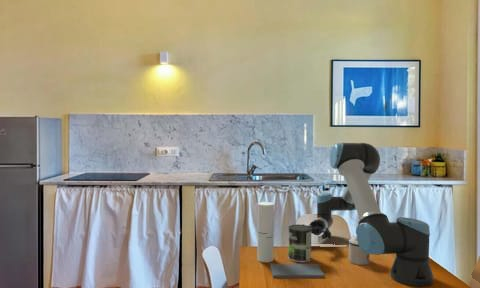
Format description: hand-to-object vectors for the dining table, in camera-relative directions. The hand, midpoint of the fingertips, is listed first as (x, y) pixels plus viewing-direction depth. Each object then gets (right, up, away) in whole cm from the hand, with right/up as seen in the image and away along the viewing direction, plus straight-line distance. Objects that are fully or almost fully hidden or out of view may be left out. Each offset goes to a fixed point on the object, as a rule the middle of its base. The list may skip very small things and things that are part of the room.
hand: (304, 236), depth 172 cm
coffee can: (-3, -8, -6) cm, 11 cm away
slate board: (-7, -9, -22) cm, 25 cm away
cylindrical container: (-19, -8, -8) cm, 22 cm away
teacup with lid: (+22, -9, -9) cm, 25 cm away
